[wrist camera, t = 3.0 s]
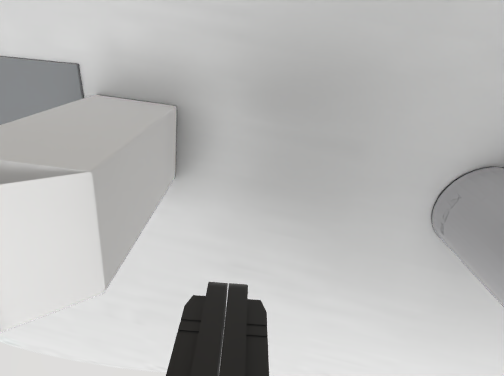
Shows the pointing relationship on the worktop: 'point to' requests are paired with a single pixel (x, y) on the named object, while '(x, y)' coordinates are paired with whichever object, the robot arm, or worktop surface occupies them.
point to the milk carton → (77, 198)
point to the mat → (36, 86)
